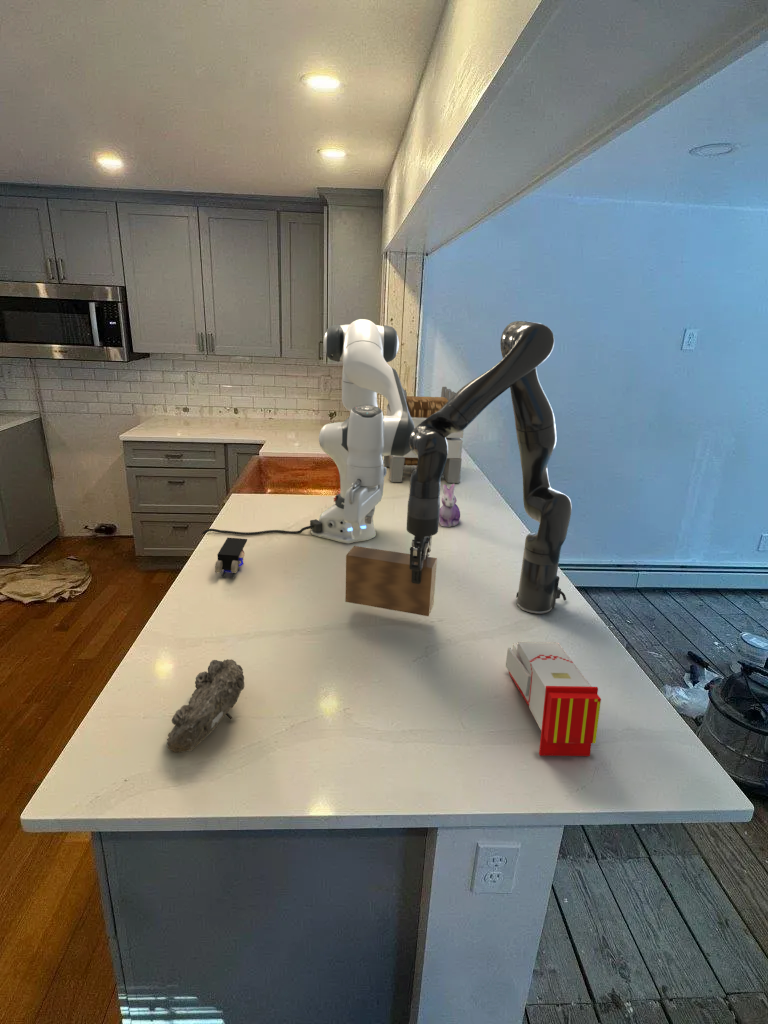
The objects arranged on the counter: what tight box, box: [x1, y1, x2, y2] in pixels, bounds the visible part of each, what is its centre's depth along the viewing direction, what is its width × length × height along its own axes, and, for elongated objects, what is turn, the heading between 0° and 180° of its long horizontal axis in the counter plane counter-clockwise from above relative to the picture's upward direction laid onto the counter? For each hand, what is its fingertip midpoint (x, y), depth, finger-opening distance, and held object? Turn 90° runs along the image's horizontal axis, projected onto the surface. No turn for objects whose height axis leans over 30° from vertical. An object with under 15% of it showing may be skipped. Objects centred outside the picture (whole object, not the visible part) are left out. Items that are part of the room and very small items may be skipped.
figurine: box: [439, 483, 461, 528], centre depth 209 cm, size 9×10×15 cm
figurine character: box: [214, 537, 248, 578], centre depth 166 cm, size 7×8×15 cm
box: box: [344, 545, 438, 617], centre depth 141 cm, size 22×6×13 cm, turn 74°
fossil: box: [166, 658, 245, 754], centre depth 106 cm, size 22×10×15 cm
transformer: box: [383, 386, 465, 484], centre depth 268 cm, size 34×33×41 cm
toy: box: [505, 641, 602, 757], centre depth 113 cm, size 12×13×30 cm
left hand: (362, 528), depth 140 cm, fingers open, 8 cm apart
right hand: (419, 576), depth 138 cm, fingers closed on box, 6 cm apart
